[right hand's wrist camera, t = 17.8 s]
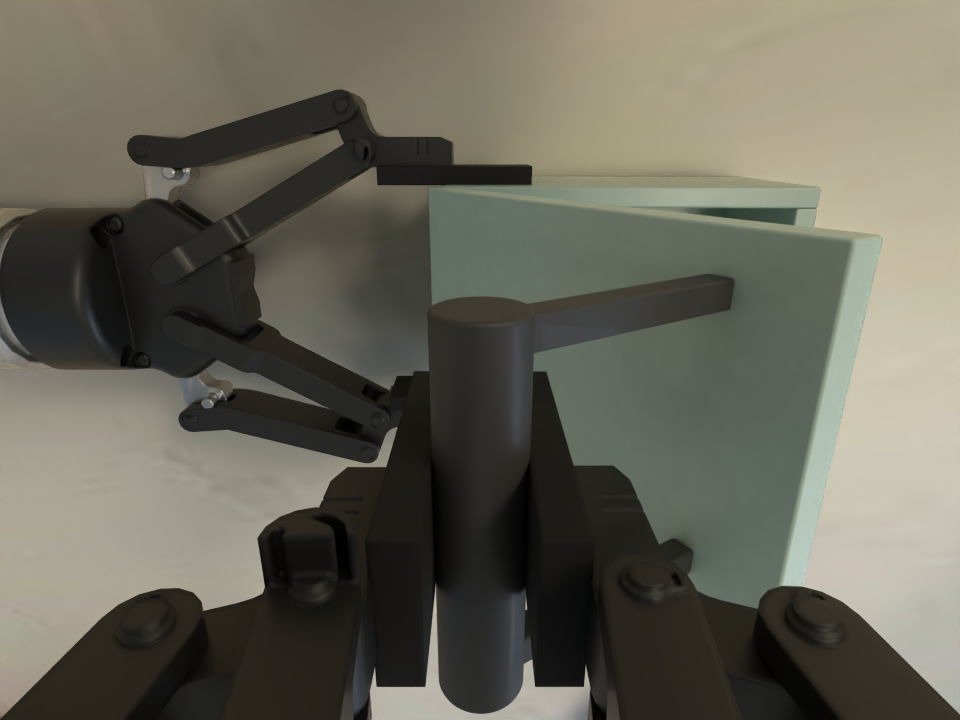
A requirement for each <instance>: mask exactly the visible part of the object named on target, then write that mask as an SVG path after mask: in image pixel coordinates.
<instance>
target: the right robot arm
mask: <svg viewBox="0 0 960 720" xmlns="http://www.w3.org/2000/svg"><path fill="white" fill-rule="evenodd" d="M258 544H259V551H260V557H261V564H262V570H263V577H264V583H265V589H264V592H263V594H261V595H259V596H257V597H255V598H252V599H249V600H246V601H243V602H240V603H236V604H232V605H227V606H223V607H219V608H214V609H210V610H206V611H203V607H202V602H201V601H200V600H199V599H198V597H197V596H196V595H195V594H194V593H193V592H189V591H186V590H183V589H180V588H171V589H158V590H154V591H150V592H147V593H143V594H139V595H137V596H135V597H133V598H131V599H129V600H127V601H125V602H123V603H121V604H119V605H118V606H116V607H115V608H114V609H113V610H111V611H110V612H109V613H107V614H106V615H105V616H104V617H102V618H101V619H100V620H99V621H98V622H97V623H96V624H95V625H94V626H93V627H92V628H91V629H90V630H89V631H88V632H87V633H86V634H85V635H84V636H83V637H82V638H81V639H80V640H79V641H78V642H77V643H76V644H75V645H74V646H73V647H72V648H71V649H70V650H69V651H68V652H67V653H66V654H65V655H64V656H63V657H62V658H61V659H60V660H59V661H58V662H57V663H56V664H55V665H54V666H53V667H52V668H51V669H50V670H49V671H48V672H47V673H46V674H45V675H44V676H43V677H42V678H41V679H40V680H39V681H38V682H37V683H36V684H35V685H34V686H33V687H32V688H31V689H30V690H29V691H28V692H27V693H26V694H25V695H24V696H23V697H22V698H21V699H20V700H19V701H18V702H17V703H16V704H15V705H14V706H13V707H12V708H11V709H10V710H9V711H8V712H7V713H6V714H5V715H4V716H3V717H2V718H1V719H0V720H372V713H371V701H370V688H371V683H372V678H373V673H374V668H375V672H376V684H377V687H425V685H426V675H427V665H428V655H429V645H430V635H431V625H432V615H433V605H434V595H435V585H436V568H435V536H434V504H433V473H432V442H431V410H430V378H429V371H414V373H413V377H412V380H411V384H410V387H409V391H408V394H407V397H406V401H405V404H404V408H403V411H402V415H401V418H400V422H399V425H398V429H397V432H396V435H395V439H394V442H393V446H392V449H391V453H390V456H389V460H388V463H387V467H347V468H346V469H345V470H343V471H342V472H341V473H340V474H339V475H338V476H336V477H335V478H334V479H333V480H332V481H331V482H330V484H329V486H328V488H327V491H326V493H325V495H324V499H323V501H322V502H321V504H320V507H319V508H309V509H303V510H297V511H294V512H292V513H289V514H286V515H284V516H281V517H279V518H278V519H276V520H275V521H273V522H272V523H270V524H269V525H268V526H266V527H265V529H264V530H263V531H262V533H261V534H260V535H259V537H258ZM525 590H526V600H527V610H528V620H529V630H530V640H531V650H532V660H533V670H534V680H535V687H584V678H585V666H586V668H587V672H588V677H589V682H590V687H591V689H590V701H589V713H588V720H960V714H959V713H958V712H957V711H956V710H955V709H954V708H953V707H952V706H951V705H950V704H949V703H948V702H947V701H946V700H945V699H944V698H943V697H942V696H940V695H939V694H938V693H937V692H936V691H935V690H934V689H933V688H932V687H931V686H930V685H929V684H928V683H927V682H926V681H925V680H924V679H923V678H922V677H921V676H920V675H919V674H918V673H917V672H916V671H915V670H914V669H913V668H912V667H911V666H910V665H909V664H908V663H907V662H906V661H905V660H904V659H903V658H902V657H901V656H900V655H899V654H898V653H897V652H896V651H895V650H894V649H893V648H892V647H891V646H890V645H889V644H888V643H887V642H886V641H885V640H884V639H883V638H882V637H881V636H880V635H879V634H878V633H877V632H876V631H875V630H874V629H873V628H872V627H871V626H870V625H869V624H868V623H867V622H866V621H865V620H864V619H863V618H862V617H861V616H860V615H859V614H857V613H856V612H855V611H853V610H852V609H851V608H850V607H848V606H847V605H846V604H844V603H843V602H841V601H839V600H837V599H835V598H833V597H831V596H829V595H827V594H825V593H823V592H820V591H817V590H813V589H809V588H805V587H802V586H780V587H777V588H773V589H770V590H768V591H767V592H766V593H765V594H764V595H763V596H762V597H761V598H760V600H759V605H758V609H757V608H752V607H748V606H744V605H739V604H735V603H731V602H727V601H722V600H719V599H716V598H713V597H710V596H707V595H705V594H703V593H701V592H698V591H696V588H695V586H694V584H693V583H692V581H691V579H690V578H689V576H688V575H687V574H686V573H685V572H684V571H683V570H681V569H680V568H679V567H677V566H676V565H675V564H674V563H671V562H669V561H667V560H666V559H665V557H664V554H663V552H662V550H661V548H660V545H659V543H658V541H657V539H656V537H655V534H654V532H653V530H652V528H651V525H650V523H649V521H648V519H647V516H646V514H645V512H643V507H642V505H641V503H640V501H639V499H637V494H636V492H635V489H634V487H633V485H632V483H631V481H630V479H629V478H628V477H627V476H625V475H624V474H623V473H622V472H621V471H619V470H618V469H617V468H616V467H615V466H613V465H573V461H572V458H571V454H570V451H569V448H568V444H567V441H566V437H565V434H564V430H563V427H562V423H561V420H560V417H559V413H558V410H557V406H556V403H555V399H554V396H553V392H552V389H551V386H550V382H549V379H548V375H547V372H546V371H533V393H532V423H531V453H530V461H529V485H528V516H527V546H526V577H525Z"/></svg>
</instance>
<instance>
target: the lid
mask: <svg viewBox="0 0 960 720" xmlns="http://www.w3.org/2000/svg"><path fill="white" fill-rule="evenodd" d="M429 222H430V257H431V292H432V306H431V307H430V308H429V311H428V313H427V314H428V346H429V378H430V410H431V442H432V473H433V504H434V536H435V568H436V601H437V633H438V665H439V683H440V687H441V689H442V691H443V693H444V695H445V696H446V698H447V699H448V700H449V701H450V702H451V703H452V704H453V705H455V706H456V707H458V708H460V709H461V710H464V711H467V712H470V713H477V714H485V713H491V712H495V711H498V710H500V709H502V708H504V707H506V706H507V705H509V704H510V703H511V702H512V701H513V700H514V699H515V698H516V696H517V695H518V693H519V692H520V689H521V687H522V683H523V665H524V663H526V662H528V661H530V660H531V659H532V650H531V640H530V630H529V620H528V610H525V604H526V590H525V577H526V546H527V516H528V485H529V461H530V453H531V423H532V393H533V371H546V372H547V375H548V379H549V382H550V386H551V389H552V392H553V396H554V399H555V403H556V406H557V410H558V413H559V417H560V420H561V423H562V427H563V430H564V434H565V437H566V441H567V444H568V448H569V451H570V454H571V458H572V461H573V465H613V466H615V467H616V468H617V469H618V470H619V471H621V472H622V473H623V474H624V475H625V476H627V477H628V478H629V479H630V481H631V483H632V485H633V487H634V489H635V492H636V494H637V499H639V501H640V503H641V505H642V507H643V512H645V514H646V516H647V519H648V521H649V523H650V525H651V528H652V530H653V532H654V534H655V537H656V539H657V541H658V543H659V545H660V548H661V550H662V552H663V554H664V557H665V559H666V560H667V561H669V562H671V563H674V564H675V565H676V566H677V567H679V568H680V569H681V570H683V571H684V572H685V573H686V574H687V575H688V576H689V578H690V579H691V581H692V583H693V584H694V586H695V588H696V591H698V592H701V593H703V594H705V595H707V596H710V597H713V598H716V599H719V600H722V601H727V602H731V603H735V604H739V605H744V606H748V607H752V608H757V609H758V605H759V600H760V598H761V597H762V596H763V595H764V594H765V593H766V592H767V591H768V590H770V589H773V588H777V587H780V586H803V582H804V578H805V573H806V569H807V565H808V560H809V556H810V552H811V547H812V543H813V539H814V534H815V530H816V526H817V521H818V517H819V513H820V508H821V504H822V500H823V495H824V491H825V487H826V482H827V478H828V474H829V469H830V465H831V461H832V456H833V452H834V448H835V443H836V439H837V435H838V430H839V426H840V422H841V417H842V413H843V409H844V404H845V400H846V396H847V391H848V387H849V383H850V378H851V374H852V370H853V365H854V361H855V357H856V352H857V348H858V344H859V340H860V335H861V331H862V327H863V322H864V318H865V314H866V309H867V305H868V301H869V296H870V292H871V288H872V283H873V279H874V275H875V270H876V266H877V262H878V257H879V253H880V249H881V244H882V237H881V236H879V235H875V234H866V233H857V232H848V231H839V230H830V229H821V228H812V227H803V226H794V225H785V224H776V223H767V222H758V221H749V220H740V219H731V218H723V217H714V216H705V215H696V214H687V213H678V212H669V211H660V210H651V209H642V208H633V207H624V206H615V205H606V204H597V203H588V202H579V201H570V200H561V199H552V198H543V197H535V196H526V195H517V194H508V193H499V192H490V191H481V190H472V189H463V188H454V187H439V188H430V189H429Z"/></svg>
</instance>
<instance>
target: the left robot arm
mask: <svg viewBox="0 0 960 720" xmlns="http://www.w3.org/2000/svg"><path fill="white" fill-rule="evenodd" d="M337 129H338V130H339V133H340V135H341V137H342V140H343V142H344V144H343V145H342V146H340V147H338V148H337V149H335V150H334V151H332V152H330V153H329V154H327V155H326V156H324V157H322V158H321V159H319V160H318V161H316V162H314V163H313V164H311V165H310V166H308V167H306V168H305V169H303V170H302V171H300V172H298V173H297V174H295V175H294V176H292V177H290V178H289V179H287V180H286V181H284V182H282V183H281V184H279V185H278V186H276V187H274V188H273V189H271V190H270V191H268V192H266V193H265V194H263V195H262V196H260V197H258V198H257V199H255V200H254V201H252V202H250V203H249V204H247V205H246V206H244V207H242V208H241V209H239V210H238V211H236V212H234V213H232V214H230V215H228V216H226V217H224V218H222V219H221V220H219V221H217V222H216V223H214V222H212V221H211V220H209V219H208V218H206V217H205V216H203V215H202V214H200V213H199V212H197V211H196V210H194V209H193V208H191V207H190V206H188V205H187V204H185V203H184V202H182V201H181V200H179V199H178V194H179V191H180V190H181V188H182V187H184V186H186V185H191V184H194V183H195V182H196V181H197V180H198V179H199V176H200V169H199V167H205V166H215V165H221V164H225V163H229V162H232V161H235V160H239V159H242V158H245V157H248V156H252V155H255V154H258V153H262V152H265V151H268V150H271V149H275V148H278V147H281V146H285V145H288V144H291V143H294V142H298V141H301V140H304V139H308V138H311V137H314V136H317V135H321V134H324V133H327V132H330V131H334V130H337ZM127 150H128V154H129V156H130V157H131V159H132V160H133V161H134V162H136V163H137V164H140V165H142V167H143V176H144V185H145V194H146V200H143V201H141V202H140V203H138V204H137V205H135V206H134V207H131V208H47V209H42V210H39V211H37V210H34V209H30V208H0V369H17V370H40V369H49V368H52V367H53V368H57V369H86V370H129V369H146V368H151V369H157V370H160V371H163V372H166V373H168V374H170V375H172V376H174V377H177V378H179V380H180V384H181V387H182V391H183V395H184V398H185V402H186V406H187V408H186V409H185V410H184V411H183V412H181V413H180V415H179V423H180V425H181V426H182V427H183V428H184V429H185V430H187V431H190V432H199V431H214V430H231V431H235V432H239V433H243V434H247V435H251V436H256V437H260V438H264V439H268V440H272V441H276V442H280V443H284V444H288V445H293V446H297V447H301V448H305V449H309V450H313V451H317V452H321V453H325V454H330V455H334V456H338V457H342V458H346V459H350V460H354V461H358V462H362V463H371V462H374V461H375V460H376V459H377V457H378V455H379V452H380V449H381V446H382V443H383V440H384V437H385V435H386V433H387V432H388V431H389V430H390V429H392V428H395V427H398V425H399V422H400V418H401V415H402V411H403V408H404V404H405V401H406V397H407V394H408V391H409V387H410V384H411V380H412V377H413V376H397V378H396V380H395V383H394V386H392V387H391V389H390V390H387V389H386V388H384V387H382V386H380V385H378V384H376V383H374V382H372V381H370V380H368V379H366V378H364V377H362V376H360V375H358V374H356V373H354V372H352V371H350V370H348V369H346V368H344V367H342V366H340V365H338V364H336V363H334V362H332V361H330V360H328V359H326V358H324V357H322V356H320V355H318V354H316V353H314V352H312V351H310V350H308V349H306V348H304V347H302V346H300V345H298V344H296V343H294V342H292V341H290V340H288V339H286V338H284V337H283V336H282V335H281V334H280V332H279V331H278V330H277V329H275V328H274V327H272V326H270V325H268V324H266V323H264V322H262V321H260V320H258V319H259V318H260V317H261V308H260V301H259V299H258V296H257V294H256V291H255V289H254V286H253V284H254V276H255V262H254V255H253V254H249V253H248V251H247V249H246V247H245V245H247V244H248V243H250V242H252V241H253V240H255V239H257V238H258V237H260V236H262V235H263V234H265V233H266V232H268V231H269V230H270V229H272V228H273V227H275V226H277V225H278V224H280V223H282V222H283V221H285V220H287V219H288V218H290V217H291V216H293V215H295V214H296V213H298V212H300V211H301V210H303V209H305V208H306V207H308V206H309V205H311V204H313V203H314V202H316V201H318V200H319V199H321V198H323V197H324V196H326V195H327V194H329V193H331V192H332V191H334V190H336V189H337V188H339V187H341V186H342V185H344V184H345V183H347V182H349V181H350V180H352V179H354V178H355V177H357V176H359V175H360V174H362V173H364V172H365V171H367V170H368V169H370V168H372V167H377V183H378V185H532V166H530V165H454V155H453V142H451V141H449V140H447V139H444V138H442V137H384V136H382V135H380V134H379V133H377V132H376V130H375V129H374V127H373V126H372V123H371V121H370V118H369V116H368V113H367V108H366V104H365V102H364V100H363V99H362V98H361V97H359V96H357V95H355V94H353V93H350V92H348V91H345V90H335V91H332V92H328V93H325V94H322V95H319V96H315V97H312V98H309V99H306V100H303V101H299V102H296V103H293V104H290V105H287V106H283V107H280V108H277V109H274V110H271V111H267V112H264V113H261V114H258V115H255V116H251V117H248V118H245V119H242V120H238V121H235V122H232V123H229V124H226V125H222V126H219V127H216V128H213V129H210V130H206V131H203V132H200V133H197V134H194V135H190V136H187V137H174V136H151V135H137V136H134V137H132V138H131V139H130V140H129V142H128V144H127ZM217 360H219V361H221V362H223V363H226V364H228V365H230V366H232V367H234V368H236V369H238V370H240V371H243V372H247V373H251V372H254V373H258V374H260V375H262V376H264V377H266V378H268V379H270V380H272V381H274V382H276V383H278V384H280V385H282V386H284V387H286V388H288V389H290V390H292V391H295V392H297V393H299V394H301V395H303V396H305V397H307V398H309V399H311V400H313V401H315V402H317V403H319V404H321V405H323V406H325V407H327V408H329V409H327V408H323V407H319V406H315V405H311V404H307V403H303V402H299V401H295V400H291V399H287V398H283V397H279V396H275V395H271V394H267V393H263V392H259V391H254V390H248V389H232V388H233V385H232V383H231V382H229V381H221V380H216V379H214V378H212V377H211V376H210V375H209V374H208V372H207V369H206V368H208V367H209V366H210V365H212V364H213V363H214V362H216V361H217Z"/></svg>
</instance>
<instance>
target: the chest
mask: <svg viewBox="0 0 960 720" xmlns="http://www.w3.org/2000/svg"><path fill="white" fill-rule="evenodd" d="M442 187H454V188H463V189H472V190H481V191H490V192H499V193H508V194H517V195H526V196H535V197H543V198H552V199H561V200H570V201H579V202H588V203H597V204H606V205H615V206H624V207H633V208H642V209H651V210H660V211H669V212H678V213H687V214H696V215H705V216H714V217H723V218H731V219H740V220H749V221H758V222H767V223H776V224H785V225H794V226H803V227H812V228H814V223H815V217H816V212H817V209H815V208H817V206H818V201H819V195H820V190H821V189H820V188H819V187H814V186H806V185H798V184H790V183H783V182H775V181H767V180H760V179H752V178H744V177H708V176H532V185H444V186H442Z"/></svg>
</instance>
